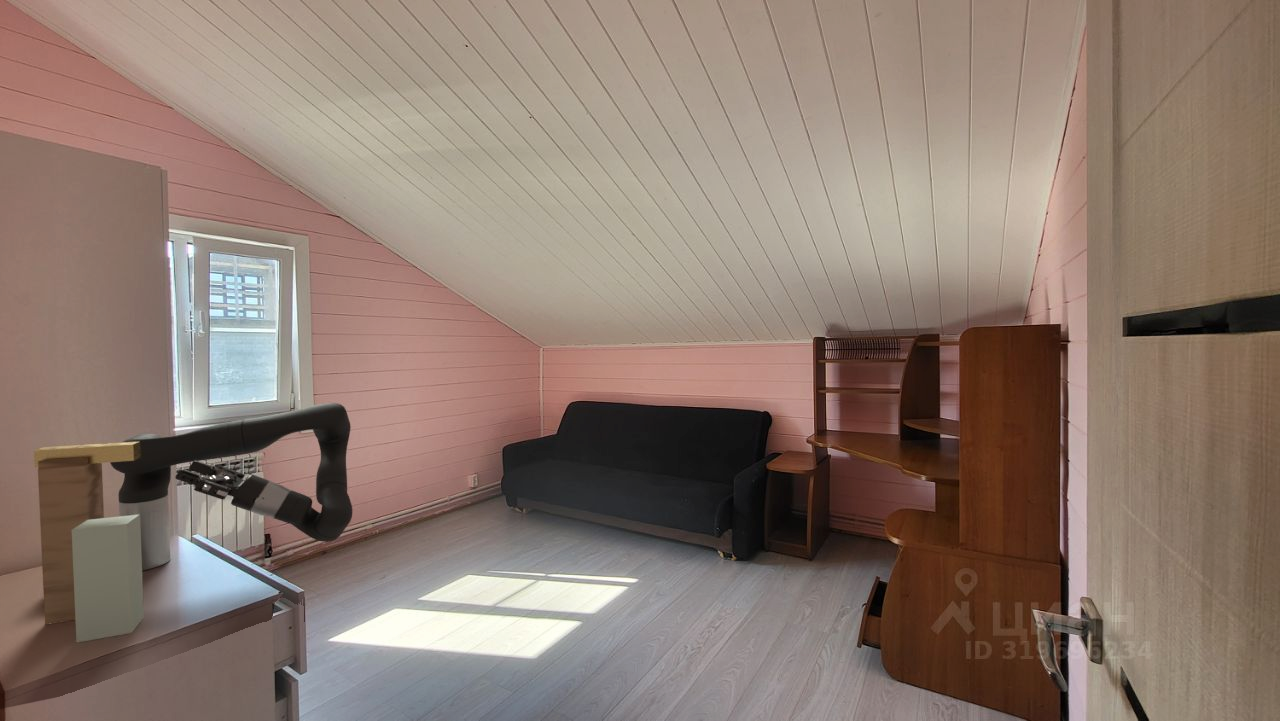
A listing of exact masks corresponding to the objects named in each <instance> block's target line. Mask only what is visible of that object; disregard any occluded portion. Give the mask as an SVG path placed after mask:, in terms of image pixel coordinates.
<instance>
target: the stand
mask: <svg viewBox="0 0 1280 721" xmlns="http://www.w3.org/2000/svg"><path fill="white" fill-rule="evenodd" d="M37 468H38V469H37V479H38V482H37V483H38V501H39V503H38V504H39V523H40V545H41V564H42V565H41V567H42V568H41V570H42V586H43V587H42V590H43V591H42V592H43V609H44V611H43V612H44V613H43V614H44V625H45V624H47V625H50V624H49V623H53V624H56V623H55V622H59V623H62V622H61V621H65V622H70V621H69V620H71V621H76V620H75V596H74V573H73V550H72V529H74V528H75V527H77V526H79V525H80V524H82V523H83V522H85V521H87V520H91V519H101V518H105V513H104V508H105V507H104V489H103V487H104V486H103V485H104V484H103V483H104V482H103V463H93V464H88V457H84V458H69V459H54V460H41V461H38V467H37Z"/></svg>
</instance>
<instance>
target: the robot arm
mask: <svg viewBox="0 0 1280 721" xmlns="http://www.w3.org/2000/svg"><path fill="white" fill-rule="evenodd" d="M310 430H311V431H313V434H314V436H315V438H316V439H317V443H318V446H319V450H320V462H319V465H318V468H317V471H316V476H315V477H316V479H315V498H316V501H317V502H318V504H320V505H321V510H320V512H319V511H318V510H317V509H314V508H313V507H312V506H313V499H312V498H311V497H310V496H307V495H306V494H303V493H301V492H298V491H295V490H293V489H290V488H287V487H285V486H283V485H282V484H279V483H277V482H275V481H274V482H273V481H271V480H269V479H267V478H263V477H261V476H258V475H255V474H249V475H248V476H247V477H246V478H245V474H244V473H241V472H238V471H236V470H234V469H231V468H228V467H226V466H223V465H220V464H219V465H217V466H216V465H213V466H212V465H210V464H207V463H204V462H201V461H208V460H214V459H221V458H222V459H223V458H229V457H235V456H236V457H237V456H240V455H241V456H242V455H247V454H252V453H256V452H260V451H262V450H264V449H267V448H268V447H270V446H271V445H272V444H275V443H276V442H277V441H279V440H280V439H282V438H284V437H286V436H288V435H292V434H294V433H298V432H303V431H310ZM350 434H351V421H350V419H349V415H348V412H347V409H346V408H345V406H343V404H341V403H337V402H325V403H319V404H315V405H311V406H310V405H309V406H306V407H303V408H300V409H295V410H291V411H286V412H281V413H276V414H270V415H265V416H259V417H253V418H251V417H250V418H244V419H238V420H233V421H227V422H222V423H217V424H213V425H209V426H205V427H203V428H199V429H195V430H193V431H192V430H191V431H190V432H185V433H183V434H182V433H181V434H175V435H169V436H161V435H159V434H156V433H142V434H137V435H135V436H133V437H131V438H127V439H125V440H124V441H122V442H139V441H140V451H141V457H140V458H138V459H136V460H134V461H122V462H109V463H110V465H111V467H112V468H113V469H114V470H116V471H117V472H119V473H122V474H123V475H124V479H123V482H122V485H121V487H120V488H119V490H118V513H119V515H118V517H120V516H129V515H139V514H140V528H141V555H142V571H145V570H150V569H153V568H157V567H160V566H162V565H165V564H166V563H168V562H169V561H171V538H170V537H171V536H170V535H171V534H170V511H169V509H170V508H169V486H170V483H171V476H172V474H171V473H172V472H171V470H172V466H175V465H180V464H184V463H190V462H192V463H191V464H190V465H189V467H188V470H186V469H185V468H182V469H179V471H178V472H177V474H176V475H175V478H174V479H176V480H178V481H182V482H183V483H187V484H189V485H192V486H193V487H194V489H193V491H195V492H198V493H202V494H205V495H208V496H210V497H213V498H216V499H219V500H225V499H226V497H227V496H230V497H232V500H231V502H230V505H231V506H233V507H236V508H240V509H242V510H245V511H248V512H251V513H254V514H258V515H259V516H264V517H267V518H270V519H271V518H272V519H275V520H278V521H281V522H284V523H286V524H290V525H292V526H293V527H294V528H296V529H297V530H298V531H300V532H301V533H304V534H305V535H306V536H308V537H310V538H312V539H313V540H316V541H318V542H324V543H329V542H333V541H336V540H337V539H339V538H340V536H341V535H342V534H343V532H344V531H345V530H346V528H347V527H348V525H349V524H350V523H351V520H352V517H353V511H354V510H353V505H352V501H351V499H350V496H349V494H348V474H347V470H348V469H347V452H348V451H347V450H348V445H349V444H348V443H349V440H350ZM244 478H245V480H244Z"/></svg>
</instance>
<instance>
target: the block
mask: <svg viewBox="0 0 1280 721" xmlns="http://www.w3.org/2000/svg"><path fill="white" fill-rule="evenodd" d="M72 550H73V573H74V596H75V619H76V620H75V636H76V637H75V638H76V640H75V641H76V644H77V643H82V642H89V641H93V640H94V641H95V640H100V639H107V638H111V637H116V636H117V637H118V636H122V635H128V634H132V633H133V632H134V631H135V629H136V628H138V626H139V625H140V624H141V623H142V621H143V620H144V619H145V611H144V589H143V588H144V587H143V586H144V585H143V584H144V583H143V570H142V555H141V528H140V514H139V515H129V516H120V517H119V516H110V517H104V518H101V519H91V520H87V521H85V522H83V523H82V524H80V525H79V526H77V527H75V528H74V529H72ZM143 618H144V619H143ZM142 619H143V620H142Z"/></svg>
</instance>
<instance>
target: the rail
mask: <svg viewBox="0 0 1280 721" xmlns="http://www.w3.org/2000/svg"><path fill="white" fill-rule="evenodd" d="M84 457H88V464H93V463H102V464H105V463H110V462H122V461H134V460H136V459H138V458H140V457H141V451H140V441H139V442H123V441H122V442H109V443H93V444H89V443H88V444H78V445H77V444H75V445H73V444H72V445H61V446H60V445H59V446H44V447H43V446H42V447H40V448H37V449H35V450H33V458H34V459H33V460H34V463H33V464H34V468H38V461H41V460H54V459H69V458H84Z"/></svg>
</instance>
